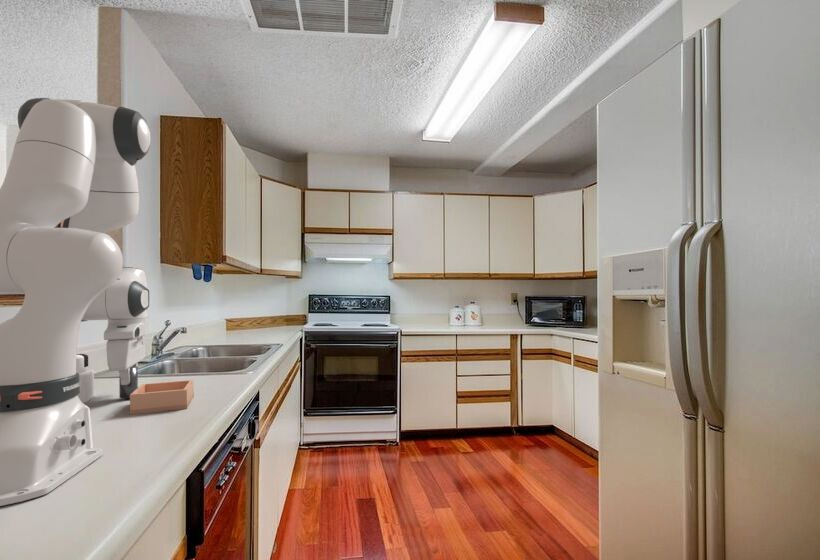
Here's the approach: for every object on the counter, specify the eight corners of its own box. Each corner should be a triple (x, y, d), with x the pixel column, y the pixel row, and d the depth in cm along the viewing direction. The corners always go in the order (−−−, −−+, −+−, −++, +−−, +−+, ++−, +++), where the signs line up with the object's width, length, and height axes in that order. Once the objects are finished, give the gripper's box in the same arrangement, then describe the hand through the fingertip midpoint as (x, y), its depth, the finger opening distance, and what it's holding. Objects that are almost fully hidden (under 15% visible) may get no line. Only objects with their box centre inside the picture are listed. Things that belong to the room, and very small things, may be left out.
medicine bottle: (61, 399, 110) (60, 353, 110) (94, 396, 113) (94, 351, 113) (51, 406, 104) (51, 357, 104) (87, 402, 107) (86, 355, 107)
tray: (186, 408, 100) (186, 389, 100) (130, 414, 96) (129, 394, 96) (193, 396, 111) (193, 379, 111) (142, 401, 107) (142, 383, 107)
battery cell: (135, 397, 109) (135, 366, 109) (117, 398, 107) (117, 367, 108) (139, 393, 112) (139, 363, 113) (122, 395, 111) (121, 364, 111)
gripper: (125, 326, 119) (126, 375, 119) (101, 333, 100) (101, 392, 99) (151, 325, 121) (151, 373, 121) (132, 332, 102) (132, 389, 102)
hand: (128, 382), depth 110 cm, fingers closed on battery cell, 4 cm apart
